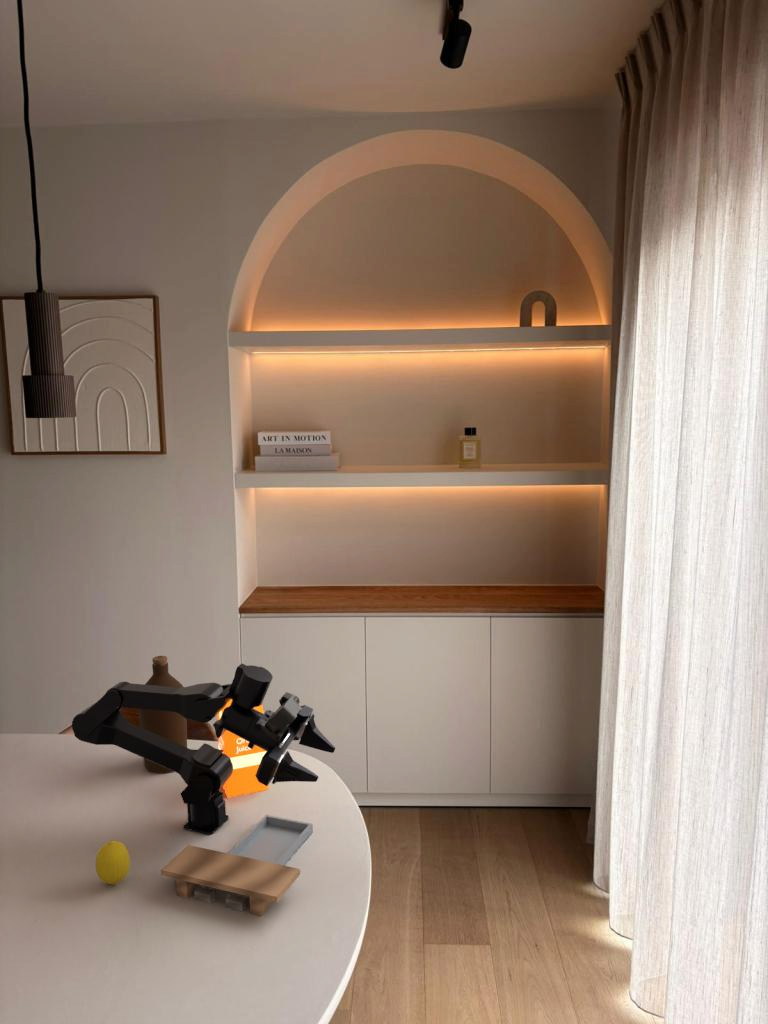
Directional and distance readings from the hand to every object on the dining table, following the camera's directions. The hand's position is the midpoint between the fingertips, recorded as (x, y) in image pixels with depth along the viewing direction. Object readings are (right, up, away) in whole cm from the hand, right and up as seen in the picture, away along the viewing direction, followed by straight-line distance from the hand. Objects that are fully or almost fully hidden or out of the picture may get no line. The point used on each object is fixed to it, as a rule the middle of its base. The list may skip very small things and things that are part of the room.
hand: (326, 764), depth 150 cm
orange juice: (-19, -12, +23) cm, 32 cm away
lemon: (-35, -17, -11) cm, 41 cm away
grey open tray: (-10, -15, -1) cm, 18 cm away
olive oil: (-39, -10, +33) cm, 52 cm away
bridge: (-15, -17, -14) cm, 27 cm away
